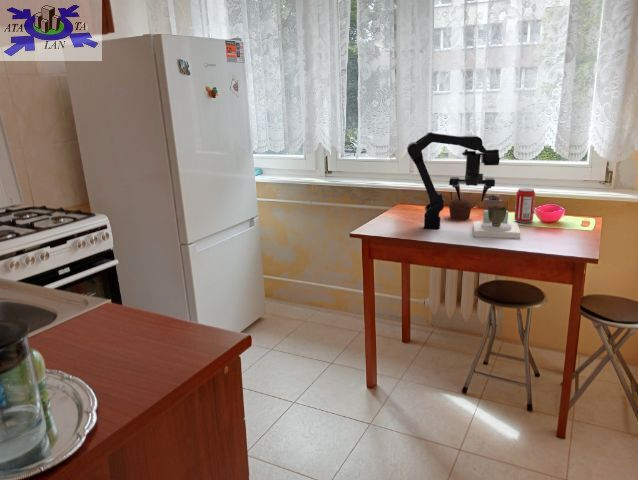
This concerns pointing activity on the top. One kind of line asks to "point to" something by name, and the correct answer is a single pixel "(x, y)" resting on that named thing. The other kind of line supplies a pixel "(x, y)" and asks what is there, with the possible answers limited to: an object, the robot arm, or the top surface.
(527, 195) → the soda can
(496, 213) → the ornate brown lamp shade
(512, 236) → the scale
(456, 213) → the muffin
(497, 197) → the lighter
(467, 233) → the top surface
